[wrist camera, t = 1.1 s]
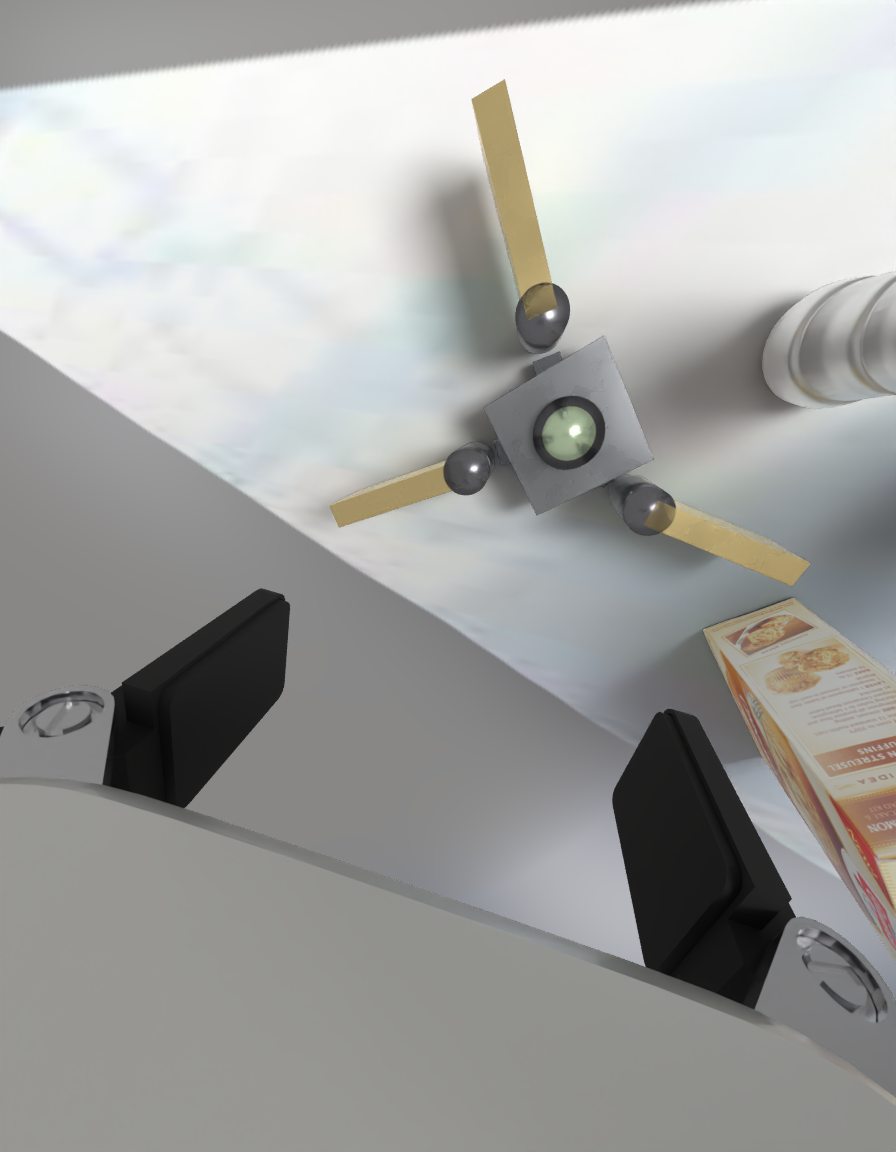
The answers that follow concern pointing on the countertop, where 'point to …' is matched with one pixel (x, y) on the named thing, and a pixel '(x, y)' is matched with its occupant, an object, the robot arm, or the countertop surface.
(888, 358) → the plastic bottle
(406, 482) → the tan block
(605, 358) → the tribrach base
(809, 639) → the coffeecake box
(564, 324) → the brushed brass bar
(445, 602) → the countertop surface
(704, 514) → the knob
